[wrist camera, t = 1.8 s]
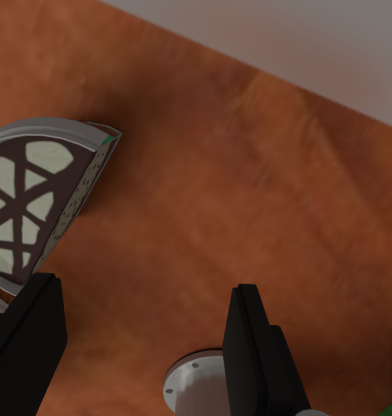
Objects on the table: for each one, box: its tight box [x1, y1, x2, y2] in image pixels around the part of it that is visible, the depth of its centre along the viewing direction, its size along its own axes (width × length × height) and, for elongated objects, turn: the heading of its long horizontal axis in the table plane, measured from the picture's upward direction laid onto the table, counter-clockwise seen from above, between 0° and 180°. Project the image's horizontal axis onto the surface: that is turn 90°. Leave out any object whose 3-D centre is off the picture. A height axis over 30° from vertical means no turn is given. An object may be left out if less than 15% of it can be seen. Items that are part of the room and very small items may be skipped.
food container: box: [0, 117, 123, 296], centre depth 21 cm, size 12×6×10 cm, turn 147°
